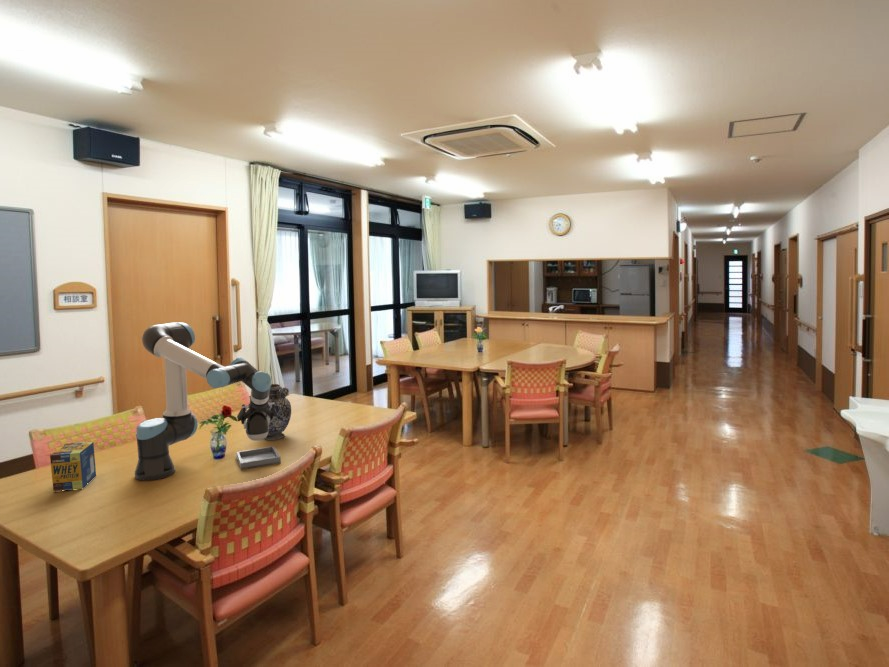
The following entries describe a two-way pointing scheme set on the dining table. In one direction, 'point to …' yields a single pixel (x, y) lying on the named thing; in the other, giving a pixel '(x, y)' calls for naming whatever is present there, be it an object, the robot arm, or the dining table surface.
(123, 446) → the dining table surface
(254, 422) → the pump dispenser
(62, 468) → the protein box
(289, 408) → the decorative vase
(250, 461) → the tray
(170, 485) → the dining table surface
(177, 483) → the dining table surface
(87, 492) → the dining table surface
